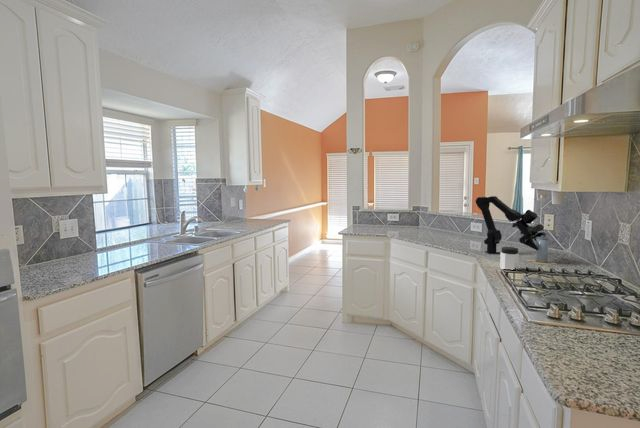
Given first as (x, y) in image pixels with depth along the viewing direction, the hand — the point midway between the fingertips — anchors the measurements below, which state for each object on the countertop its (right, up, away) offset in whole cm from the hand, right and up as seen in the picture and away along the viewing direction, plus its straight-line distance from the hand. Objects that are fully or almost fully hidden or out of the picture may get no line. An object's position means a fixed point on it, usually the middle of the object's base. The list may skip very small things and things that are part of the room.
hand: (542, 248), depth 206 cm
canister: (0, -8, +1) cm, 8 cm away
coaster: (0, -8, +1) cm, 8 cm away
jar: (-26, -10, -12) cm, 30 cm away
